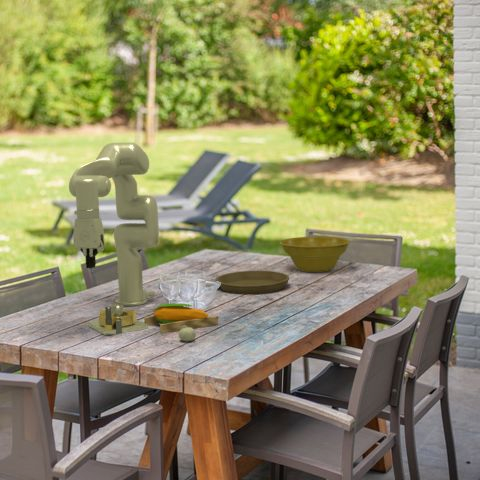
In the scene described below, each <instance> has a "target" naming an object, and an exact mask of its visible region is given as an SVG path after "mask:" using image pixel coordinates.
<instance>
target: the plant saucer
mask: <svg viewBox="0 0 480 480" xmlns="http://www.w3.org/2000/svg"><path fill="white" fill-rule="evenodd" d="M214 281H215V282H216V281H219V282H221V286H219V287H220V288H221V290H222V291H224V292H228V293H233V294H241V295H243V294H244V295H245V294H247V295H251V294H252V295H253V294H254V295H255V294H267V293H273V292H277V291H281V290H282V289H283V288H285V286H286V284H288V282H289V281H290V276H289V275H288V274H286V273H284V272H278V271H273V270H272V271H271V270H244V271H243V270H241V271H233V272H229V273H225V274H224V273H223V274H220V275H219V276H217V277H215V280H214Z"/></svg>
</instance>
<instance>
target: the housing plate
mask: <svg viewBox="0 0 480 480" xmlns="http://www.w3.org/2000/svg"><path fill="white" fill-rule="evenodd" d="M110 307H111V311H112V313H117V317H120V316H123V305H122V304H116V303H114V304H111V305H110ZM115 321H116V328H114V329H113V330H112V331H105V326H103V325H100V324H99V320H93V321H88V323H87V324H88V327H89V328H92V329H93V330H95V332H98V333H100V334H102V335H103V336H109V335H115V334H116V335H118V334H123V333H130V332H136V331H143V330H147V329H149V326H148V324H146V323H145V322H144V321H141V320H139V319H137V318H136V322H135V323H134V324H132V325H127V326H122V320H121V319H117V320H115Z"/></svg>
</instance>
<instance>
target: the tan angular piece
mask: <svg viewBox="0 0 480 480" xmlns="http://www.w3.org/2000/svg"><path fill="white" fill-rule="evenodd" d="M117 319H121V320H122V326H127V325H132V324H134V323H135V322H136V319H137V312H136V310H135V309H125V306H123V316H120V317H117V313H112V311H111V306H105V307H104V309H100V310H99V314H98V321H99V324H100V325H103V326H105V331H112V330H113V329H114V328H116V321H115V320H117Z"/></svg>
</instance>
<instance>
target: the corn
mask: <svg viewBox="0 0 480 480" xmlns="http://www.w3.org/2000/svg"><path fill="white" fill-rule="evenodd" d="M192 306H193V305H192V304H189V303H188V304H186V303H175V302H174V303H164V304H161V305H159V306H157V307H156V308H155V309H154V310H153V316H154V317H155V318H156V319H157V320H158V321H160V322H162V323H163V324H166V323H172V322H179V321H185V320H192V319H203V318H207V317H209V316H208V315H209V314H208V313H206V312H205V311H203V310H202V309H201V310H198V309H199V308H198V309H197V308H193V307H192Z"/></svg>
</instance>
